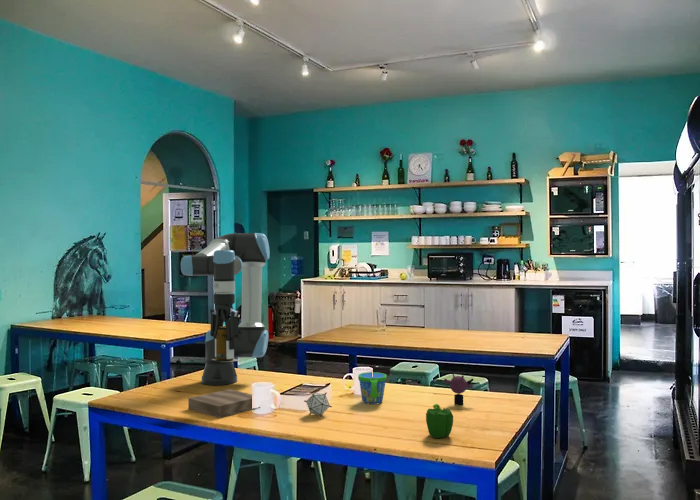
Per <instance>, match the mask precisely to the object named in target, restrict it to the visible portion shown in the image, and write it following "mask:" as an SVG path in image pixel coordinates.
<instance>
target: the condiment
mask: <svg viewBox="0 0 700 500" xmlns="http://www.w3.org/2000/svg"><path fill="white" fill-rule="evenodd" d="M217 329H218V331H217V332H218V334H217V335H216V358H217V359H212V360H214V361H219V362H232V361H233V362H238V361H240V359H239V358H238V359H237V358H232V359H226V341H227V339H228V336H227V331H226V326H225V325H223V326H219V327H218V328H217Z"/></svg>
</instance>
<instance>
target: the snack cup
mask: <svg viewBox="0 0 700 500" xmlns="http://www.w3.org/2000/svg"><path fill="white" fill-rule="evenodd" d="M357 379H358V381H359V386H360V394H361V401H362V402H363V403H364V404H367V403H369V404H368V405H376V404H377V403H379V404H382V403H383V401H384V394H385V389H386V388H385V387H386V381H387V374H386V373H382V372H377V371H375V372H373V377H372V372H371V371H369V372H368V371H367V372H362V373H359V374H358V378H357ZM381 402H382V403H381ZM377 405H378V404H377Z"/></svg>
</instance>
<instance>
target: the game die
mask: <svg viewBox="0 0 700 500" xmlns="http://www.w3.org/2000/svg"><path fill="white" fill-rule="evenodd" d="M313 392H314V393H312V395H311V396H309V397H308V399H306V400H303V402H304V403H306V405H307V407H308V410H309V414H308V415H309V416H311V414H312V415H317V416H320V418H321V417H323V416H322V415H323V414H324V413H325V412H326V411H327V410H328V409H329V408H332V407H333V406H332V405H330V403H329V400H328V398H327V396H326V395H327V394H328V392H324V393H320V392H319V393H318V392H316V390H314V391H313Z"/></svg>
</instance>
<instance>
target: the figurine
mask: <svg viewBox="0 0 700 500" xmlns="http://www.w3.org/2000/svg"><path fill="white" fill-rule="evenodd" d="M460 374H461V375H457V376H456V375H455V373H454V371H452V372H451V375H452V378H451V380H450V379H447V378H444V379H443V380H444V382H445V383H448V384H449V387H450V390H451V391H452V392H453V393H455V394H454V399H453V401H454V402H453V404H454V405H455V406H464V395H463V393H464V392H466V390H467V389H468V387H469V388H471V389H472V388H473V386H474V385H472V382H473V381H474V379H473V378H471V379H469V380H466V378H465V377H464V374H465V373H464V371H461V372H460Z"/></svg>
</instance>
